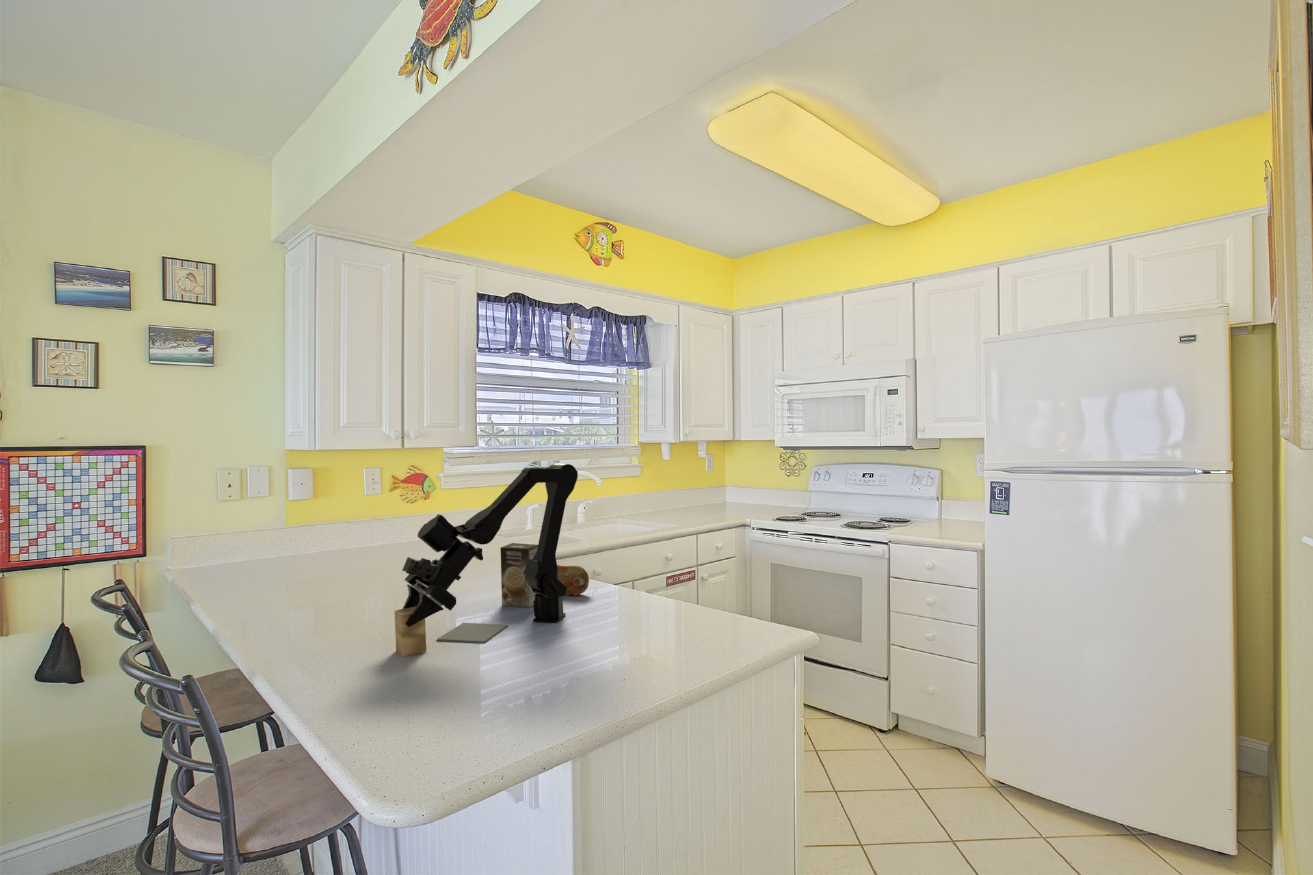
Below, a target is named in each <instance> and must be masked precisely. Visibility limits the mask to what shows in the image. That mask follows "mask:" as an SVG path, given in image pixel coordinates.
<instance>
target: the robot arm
mask: <svg viewBox="0 0 1313 875" xmlns="http://www.w3.org/2000/svg"><path fill="white" fill-rule="evenodd" d="M578 476H579V474H578V470H577V469H576V467H575V466H574V465H572V464H570V463H557V462H555V463H552V464H550V465H549V466H548V467H547V466H545V467H543V466H538V467H537V466H536V467H534V466H526V467H524V468H523V469H522V470H521V471H520V473H519V474H518V475H517V476H516V477H515V479H514V480H513V481H512V482H511V483H510V484H509V485H507V486H506V488H505V489H504V490H503V491H502V492H501V493H500V495H498V497H497V498H495V500H494V501H493V502H492V503H491V504H490V505H489V506H487V507H486V508H484V509H482V510H480V511H479V512H477V513H476V514H474V515H473V516H472V517H470V518H469V519H467V520H466V521H465V523H463V524H459V525H456V526H454V525H453V524H451V523H450V522H449V521H448V520H447V518H446V517H445V516H444V515H443V514H440V513H439V514H437V515H436V516H435V517H433V518H432V519H430V520H428V522H426V523H424V524H423V525H422V527H420V529H419V531H418V532H417V538H418V539H419V540H420V541H422V542H423V543H424V544H426V545H427V546H428V547H430V548H431V550H433V551H434V552H435V553H441V552H443V554H442V556H441V557H440V558H439V559H435V558H434V559H433V560H432V561H431V560H430V559H427V558H424V557H422V558H420V559H417V558H414V557H410V556H407V558H406V561H405V563H404V565H403V567H402V572H405V573H406V574H408V575H407V576H406V577H405V578H404V581H405V582H406V583H407V585H406V586H407V591H408V592H407V593H408V595H407V597H406V601H405V602H404V604H403V607H402V609H405V608H410V607H415V606H416V608H415V609H414V611H413V612H412V614H411V615H410V617H409V619H408V620H407V622H406V625H407V626H408V627H410V626H412V625H414V624H416V623H418V622H419V621H421V620H423V619H425V620H426V619H427V618H428V617H430V616H432V615H434V614H436V613H439V612H441V611H443V610H444V609H447V610H449V611H451V612H452V610H453V609H454V607H455V606H456V605H457V597H456V596H454V595H453V593H451V592H449V590H448V589H449V588H450V587H451V585H453V583H454V582H455V581H460V580H461V579H462V576H461V573H462V572H463V571H464V570H465V568H466V567H467V566H468V565H469V564H470V563H471V561H472V559H473V558H474V559H476V560H478V561H483V560H484V557H483V556H484V555H483V550H484V549H483V548H480V547H475V546H474V545H473V544H471V543H470V542H472V543H475V544H476V545H477V544H478V545H480V546H481V545H488V544H490V543H491V542H492V541H493V540H494V539H495V537H496V535H497V534H498V532H499V531H500V530H501V527H502V524H503V522H504V520H505V518H506V517H507V516H508V514H509V513H510V512H511V511H512V510H513V509H514V508H515V507H516V506H517V505H518V504H519V503H520V502H521V501H522V499H523V498H525V496H526V495H527V494H528V493H529V492H531V490H532V489H533V487H534V486H535V485H536V484H538V483H542V484H543V483H545V484H544V486H545V490H546V494H547V498H546V504H545V508H544V515H543V520H542V523H541V529H540V534H539V539H538V544H537V545H538V548H537V552H536V554H535V555H534V557H533V558H532V559H529V558H527V560H526V568H525V571H524V572H523V574H525V581H526V583H527V584H528V585H529V586H530V587H531V588H532V591H533V592H534V593H537V594H536V595H535V600H534V601H533V606H532V607H533V617H534V618H533V619H532V621H533V622H537V621H546V622H545V623H558V622H559V621H560V620H562V619H563V618H564V617H565V616H566V615H567V614H566V612H564V600H563V599H564V598H563V597H565V596H566V595H565V593H566V589H567V587H566V586H565V585H564V584H562V583H561V582H560V581H559V580H558V579H557V578H558V566H557V565H558V562H557V558H556V556H557V551H558V550H557V549H558V544H559V539H560V534H561V529H562V523H563V518H564V514H565V509H566V508H565V507H566V503H567V500H568V498H569V497H570V495H571V494H572V492H573V491H574V489H575V487H576V484H577V481H578ZM459 537H460V538H461V539H465V540H467V541H462V540H460V539H459ZM562 617H563V618H562Z"/></svg>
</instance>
